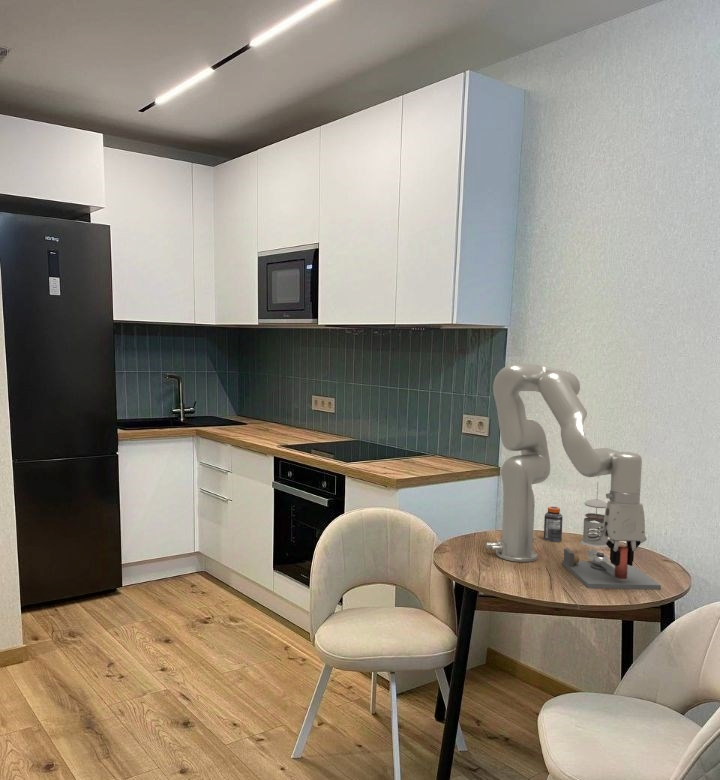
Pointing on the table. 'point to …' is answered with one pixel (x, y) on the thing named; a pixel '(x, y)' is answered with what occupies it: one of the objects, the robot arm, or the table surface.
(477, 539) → the table surface
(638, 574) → the base
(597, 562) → the lever
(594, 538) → the french press
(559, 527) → the pill bottle
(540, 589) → the table surface
